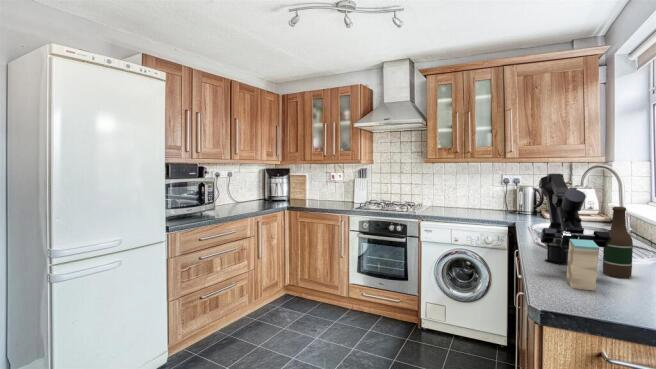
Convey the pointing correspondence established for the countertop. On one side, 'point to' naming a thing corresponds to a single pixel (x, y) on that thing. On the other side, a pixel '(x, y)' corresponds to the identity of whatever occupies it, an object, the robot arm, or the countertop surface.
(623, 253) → the beer bottle
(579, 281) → the pine block
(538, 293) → the countertop surface
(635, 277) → the countertop surface
